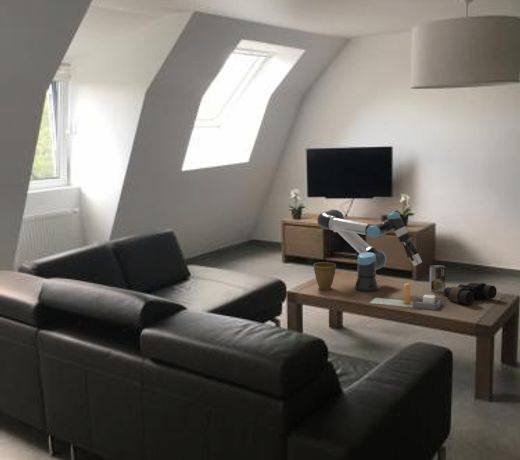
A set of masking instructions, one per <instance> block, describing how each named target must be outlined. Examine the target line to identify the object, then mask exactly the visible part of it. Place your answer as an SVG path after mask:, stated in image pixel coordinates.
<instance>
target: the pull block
mask: <svg viewBox="0 0 520 460" xmlns="http://www.w3.org/2000/svg"><path fill="white" fill-rule="evenodd" d="M422 298H423V302H421V303H430V304H435V299H436V295H433V294H424V295H423V296H422ZM403 301H404V304H406V305H409V304H410V303H413V302H415V301H414V300H413V301H412V300H411V283H407V282H406V283H404V284H403Z"/></svg>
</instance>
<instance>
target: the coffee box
mask: <svg viewBox="0 0 520 460" xmlns="http://www.w3.org/2000/svg"><path fill="white" fill-rule="evenodd" d="M445 288H446V266H445V265H443V264H438V265H436V264H435V265H434V264H433V265H432V264H431V265H429V288H428V289H429V291H430V292H431V293H432V292H433V293H435V292H436V293H437V292H440V293H442V292H443V293H444V290H445Z"/></svg>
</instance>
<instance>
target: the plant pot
mask: <svg viewBox="0 0 520 460" xmlns="http://www.w3.org/2000/svg"><path fill="white" fill-rule="evenodd" d="M336 269H337V264H336V263H334V262H324V261H323V262H322V261H321V262H316V263H314V264H313V271H314V275H315V280H316V283H317V286H318V288H319V289H320V288H321V289H320V290H329V288H330V289H331V287H332V285H333V282H334V278H335V274H336Z"/></svg>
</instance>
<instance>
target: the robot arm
mask: <svg viewBox="0 0 520 460" xmlns="http://www.w3.org/2000/svg"><path fill="white" fill-rule="evenodd" d="M316 219H317V220H316V222H317V225H318V226H319V227H320V228H321V229H323V230H330V231H332V232H333V233H338V234H339V236H341V237H342V238H343V240H345V241H346V242H347V244H349V245H350V246H351V248H353V249H354V250H355V251H356V252H357V253H358V255H357V260H356V262H357V278H356V281H355V284H354V290H355V291H359V292H365V293H369V292H370V293H371V292H376V291H378V290H379V285H378V281H377V278H376V275H377V273H376V271H377V270H379V269H382V268H384V267H385V265H386V264H387V261H388V258H387V255H386V253H385V252H384V251H382V250H378V249H377V248H376V247H375V246H370V245H369V243H367V241H365V240H364V238H362V237H361V236H360V235H364V236H368V238H372V239H373V238H377V237H382V236H384V235H385V234H388V233H389V232H391V231H393V232H394V233H395V235H396V237H397V239H398V240H399V242H400V243H402V245H403V248H404V251H405V253H406V256H407V258H409V260H410V262H411V264H412V265H413V267H416V266H418V265H419V264H421V263H423V261H422V259H421V256H420V255H419V252H420V251H418V250H417V248H416V246H415V245H414V243H413V242H412V239H411V235H410V232H409V231H408V227H406V225H405V223H404V221H403V220H402V217H401V216H400V214H399V213H398V211H394V212H392V213H390V214H388V215H387V219H386V220H384V221H383V222H380V223H377V224H371V223H365V222H361V221H355V220H351V219H345V216H344V213H343V212H342V211H340V210H339V209H330V210H326V211H322V212H320V213H319V215H318V216H317V218H316ZM359 234H360V235H359Z"/></svg>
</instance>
